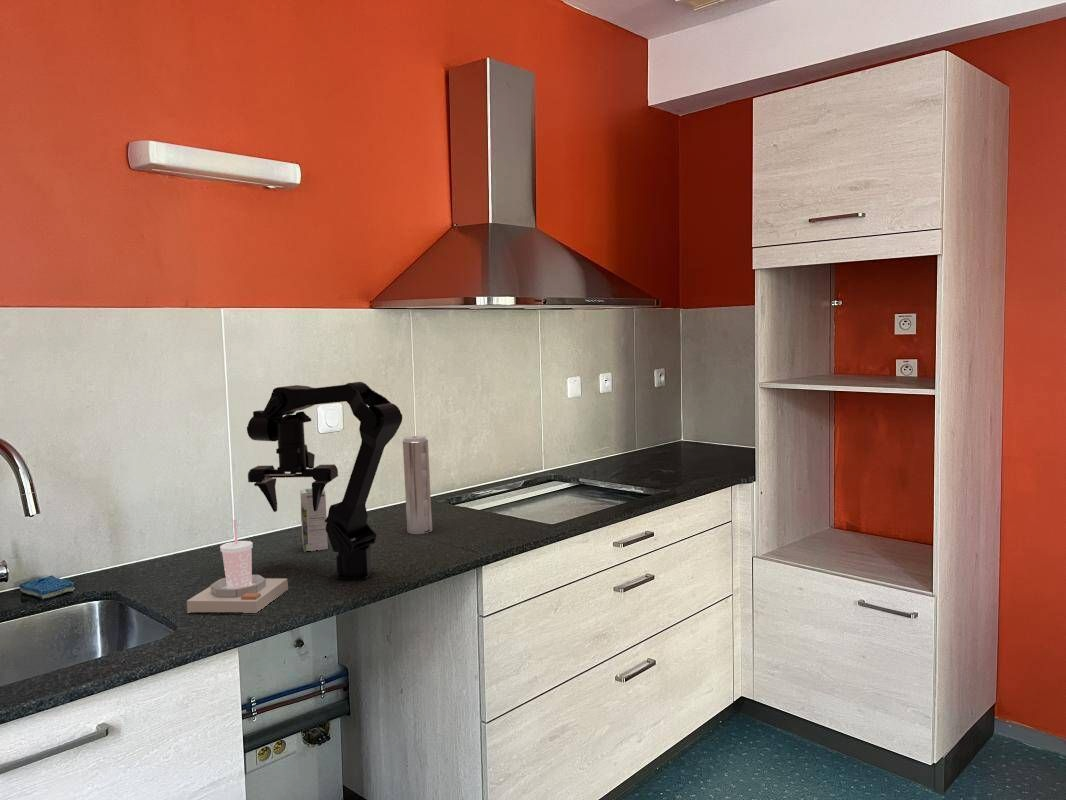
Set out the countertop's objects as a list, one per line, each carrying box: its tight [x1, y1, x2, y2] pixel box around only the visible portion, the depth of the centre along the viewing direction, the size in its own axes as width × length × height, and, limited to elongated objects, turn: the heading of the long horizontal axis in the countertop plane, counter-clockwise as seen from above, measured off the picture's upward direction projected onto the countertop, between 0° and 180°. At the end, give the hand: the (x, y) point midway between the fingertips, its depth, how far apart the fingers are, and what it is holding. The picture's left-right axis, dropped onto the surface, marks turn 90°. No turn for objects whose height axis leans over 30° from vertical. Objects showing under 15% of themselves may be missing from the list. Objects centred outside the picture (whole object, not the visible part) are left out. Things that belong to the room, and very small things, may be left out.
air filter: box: [402, 435, 433, 535], centre depth 213 cm, size 6×6×25 cm
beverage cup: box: [219, 519, 254, 588], centre depth 162 cm, size 6×6×14 cm
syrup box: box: [299, 487, 329, 553], centre depth 200 cm, size 6×6×14 cm
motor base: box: [186, 574, 289, 614], centre depth 162 cm, size 14×14×4 cm
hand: (295, 511), depth 183 cm, fingers open, 9 cm apart
